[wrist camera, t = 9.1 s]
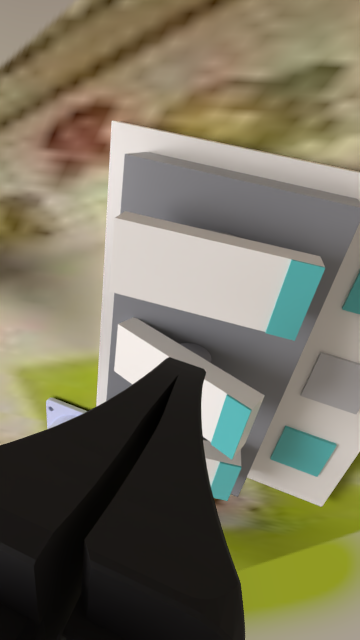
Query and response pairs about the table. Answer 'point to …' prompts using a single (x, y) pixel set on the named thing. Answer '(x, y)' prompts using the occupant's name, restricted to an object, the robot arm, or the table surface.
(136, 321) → the middle switch
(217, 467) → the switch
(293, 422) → the switch board
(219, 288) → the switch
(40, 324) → the table surface
